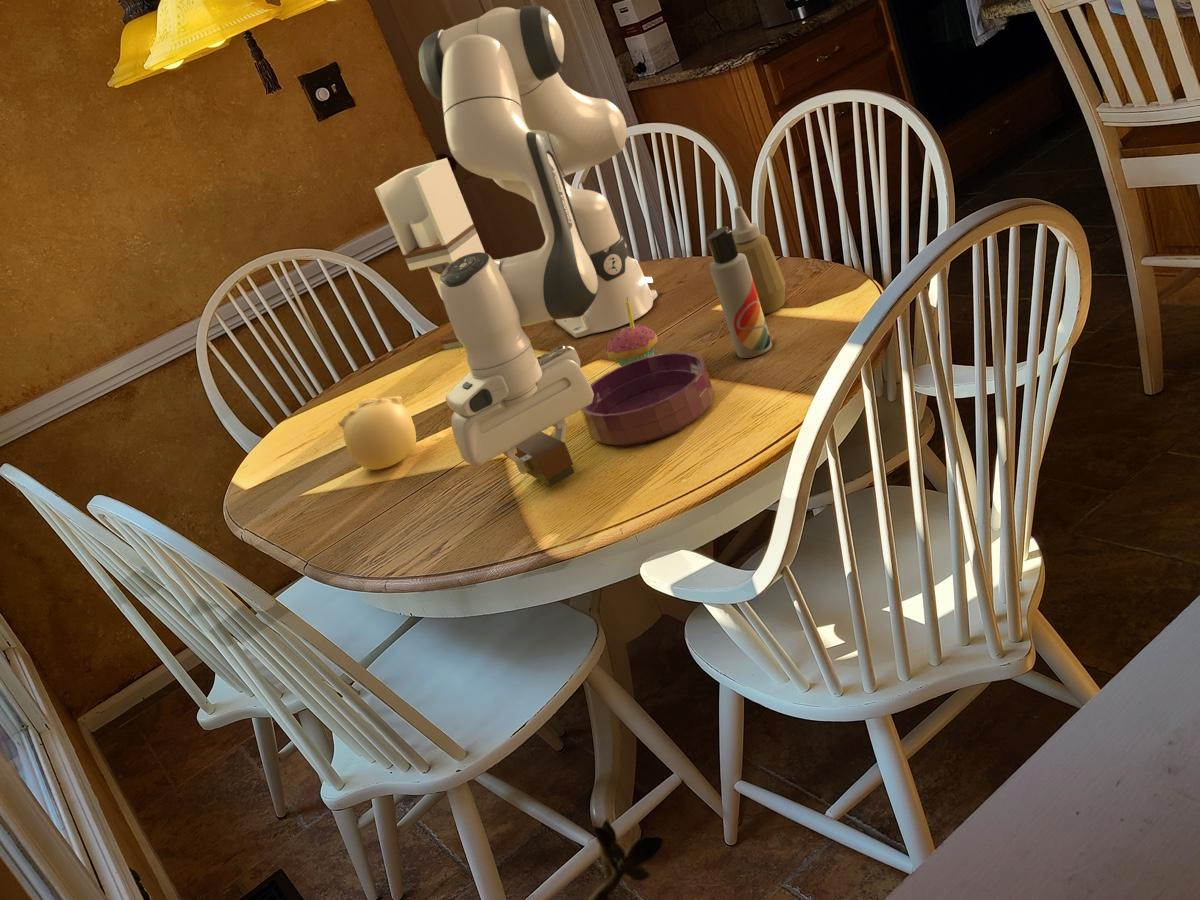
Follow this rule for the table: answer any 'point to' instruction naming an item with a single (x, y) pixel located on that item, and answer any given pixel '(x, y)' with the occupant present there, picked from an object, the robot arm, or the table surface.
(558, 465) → the dark chocolate square
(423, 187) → the cream shelf stand
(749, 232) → the squeeze bottle
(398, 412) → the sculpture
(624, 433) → the bowl
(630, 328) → the cupcake
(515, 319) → the robot arm
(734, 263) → the lotion bottle
